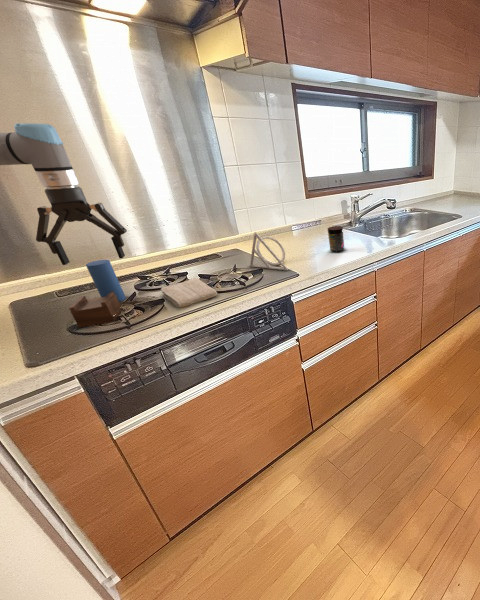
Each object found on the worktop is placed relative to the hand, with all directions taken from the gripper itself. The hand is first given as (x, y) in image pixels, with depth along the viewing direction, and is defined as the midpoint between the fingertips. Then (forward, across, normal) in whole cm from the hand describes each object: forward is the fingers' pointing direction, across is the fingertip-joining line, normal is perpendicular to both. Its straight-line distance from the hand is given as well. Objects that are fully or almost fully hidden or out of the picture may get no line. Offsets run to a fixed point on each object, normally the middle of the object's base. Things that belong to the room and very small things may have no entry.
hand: (95, 260), depth 98 cm
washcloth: (+14, +22, -7) cm, 27 cm away
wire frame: (+14, +51, +11) cm, 54 cm away
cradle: (+14, +1, -13) cm, 19 cm away
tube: (+7, 0, 0) cm, 7 cm away
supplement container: (+13, +79, +18) cm, 82 cm away
